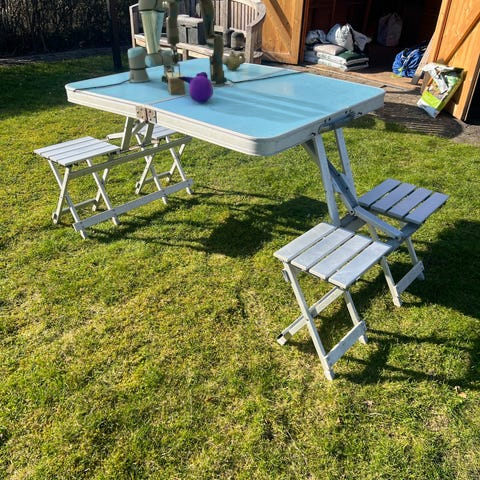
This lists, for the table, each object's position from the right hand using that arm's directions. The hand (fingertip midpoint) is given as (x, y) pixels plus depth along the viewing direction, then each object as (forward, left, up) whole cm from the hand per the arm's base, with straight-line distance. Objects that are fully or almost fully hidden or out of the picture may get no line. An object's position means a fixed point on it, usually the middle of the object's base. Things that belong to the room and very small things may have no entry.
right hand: (175, 62), depth 290 cm
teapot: (-80, -45, -20) cm, 94 cm away
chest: (-2, -6, -20) cm, 21 cm away
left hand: (-4, -10, -13) cm, 17 cm away
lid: (-2, -6, -9) cm, 11 cm away
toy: (0, +25, -20) cm, 32 cm away
